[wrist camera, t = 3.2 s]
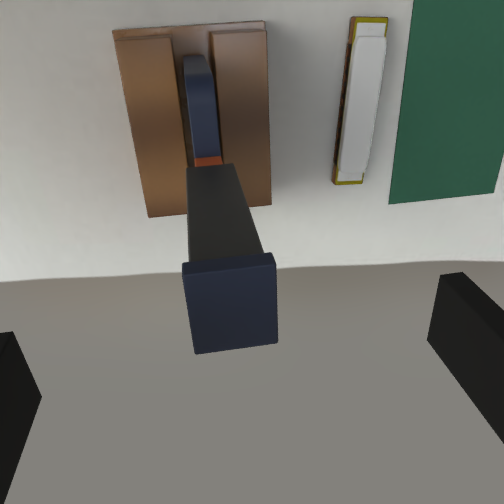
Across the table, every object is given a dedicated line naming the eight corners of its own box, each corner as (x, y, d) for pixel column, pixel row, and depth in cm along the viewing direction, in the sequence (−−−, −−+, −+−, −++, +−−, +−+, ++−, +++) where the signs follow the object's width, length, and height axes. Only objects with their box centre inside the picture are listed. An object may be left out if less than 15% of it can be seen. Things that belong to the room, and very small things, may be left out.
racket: (222, 180, 40) (280, 414, 17) (191, 183, 40) (205, 426, 17) (211, 52, 34) (274, 145, 12) (174, 54, 34) (162, 156, 11)
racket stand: (268, 190, 43) (277, 209, 39) (147, 202, 41) (143, 224, 37) (262, 20, 35) (273, 22, 31) (113, 29, 34) (104, 33, 30)
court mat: (388, 204, 45) (388, 204, 45) (417, -32, 35) (418, -32, 35) (492, 192, 47) (493, 192, 46) (552, -39, 36) (553, -39, 36)
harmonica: (359, 179, 43) (367, 186, 42) (330, 180, 43) (337, 188, 41) (384, 17, 36) (395, 17, 34) (350, 16, 36) (358, 17, 34)
